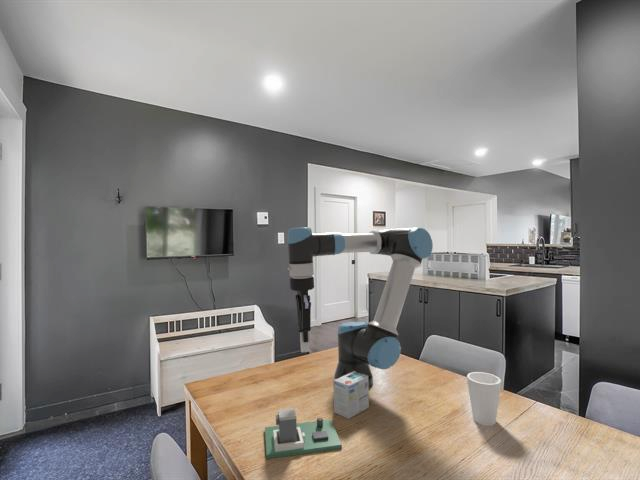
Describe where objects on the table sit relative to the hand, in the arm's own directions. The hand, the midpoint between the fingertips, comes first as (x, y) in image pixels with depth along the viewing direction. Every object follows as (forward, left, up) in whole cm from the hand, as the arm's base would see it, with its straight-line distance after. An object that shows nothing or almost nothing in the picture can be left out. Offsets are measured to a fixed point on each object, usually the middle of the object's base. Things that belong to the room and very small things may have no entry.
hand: (305, 351), depth 106 cm
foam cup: (-53, +13, -21) cm, 59 cm away
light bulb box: (-15, -2, -22) cm, 27 cm away
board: (+3, +11, -21) cm, 24 cm away
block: (+7, +13, -20) cm, 25 cm away
